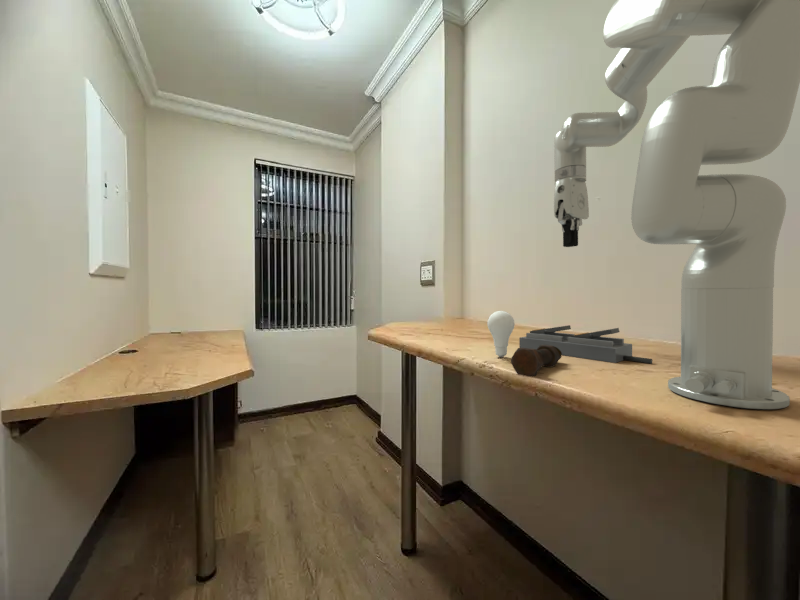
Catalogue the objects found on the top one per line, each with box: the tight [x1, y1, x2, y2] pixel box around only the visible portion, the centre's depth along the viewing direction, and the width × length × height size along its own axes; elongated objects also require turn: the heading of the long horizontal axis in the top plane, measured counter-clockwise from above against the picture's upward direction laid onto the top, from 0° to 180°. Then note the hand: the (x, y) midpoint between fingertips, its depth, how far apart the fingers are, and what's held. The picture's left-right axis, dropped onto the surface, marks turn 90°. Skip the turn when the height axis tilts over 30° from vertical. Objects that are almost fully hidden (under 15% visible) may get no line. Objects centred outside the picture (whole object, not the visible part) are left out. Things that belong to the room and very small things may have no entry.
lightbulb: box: [487, 310, 516, 358], centre depth 79 cm, size 6×6×11 cm
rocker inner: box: [571, 327, 620, 338], centre depth 78 cm, size 4×9×1 cm, turn 36°
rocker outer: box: [529, 325, 572, 334], centre depth 87 cm, size 4×9×1 cm, turn 36°
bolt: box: [510, 345, 563, 377], centre depth 68 cm, size 6×5×15 cm
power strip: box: [518, 331, 653, 364], centre depth 80 cm, size 9×28×4 cm, turn 36°
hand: (570, 246), depth 89 cm, fingers closed
